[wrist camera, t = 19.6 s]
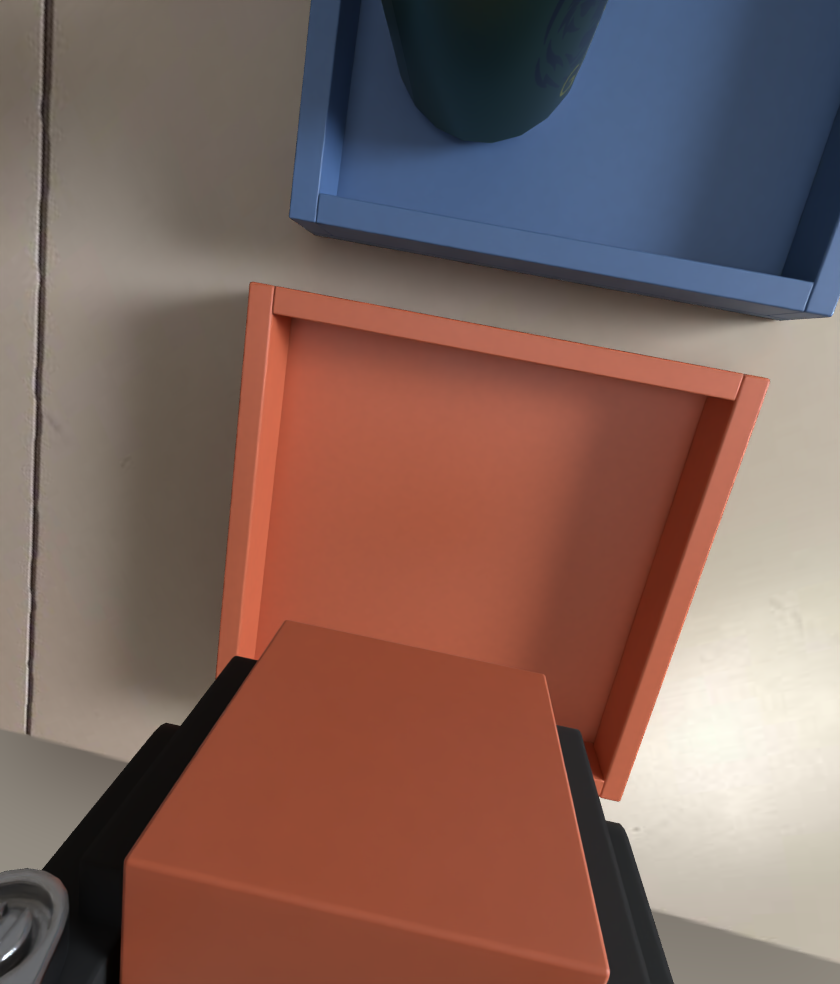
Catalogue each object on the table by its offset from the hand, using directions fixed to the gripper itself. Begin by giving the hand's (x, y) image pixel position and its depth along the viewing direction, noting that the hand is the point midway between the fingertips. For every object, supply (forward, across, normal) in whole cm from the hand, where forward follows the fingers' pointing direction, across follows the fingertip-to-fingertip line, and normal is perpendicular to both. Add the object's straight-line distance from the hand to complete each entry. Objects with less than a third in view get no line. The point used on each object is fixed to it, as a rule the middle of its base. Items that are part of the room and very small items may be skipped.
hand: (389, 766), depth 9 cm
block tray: (+12, -1, 0) cm, 12 cm away
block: (0, 0, 0) cm, 0 cm away
